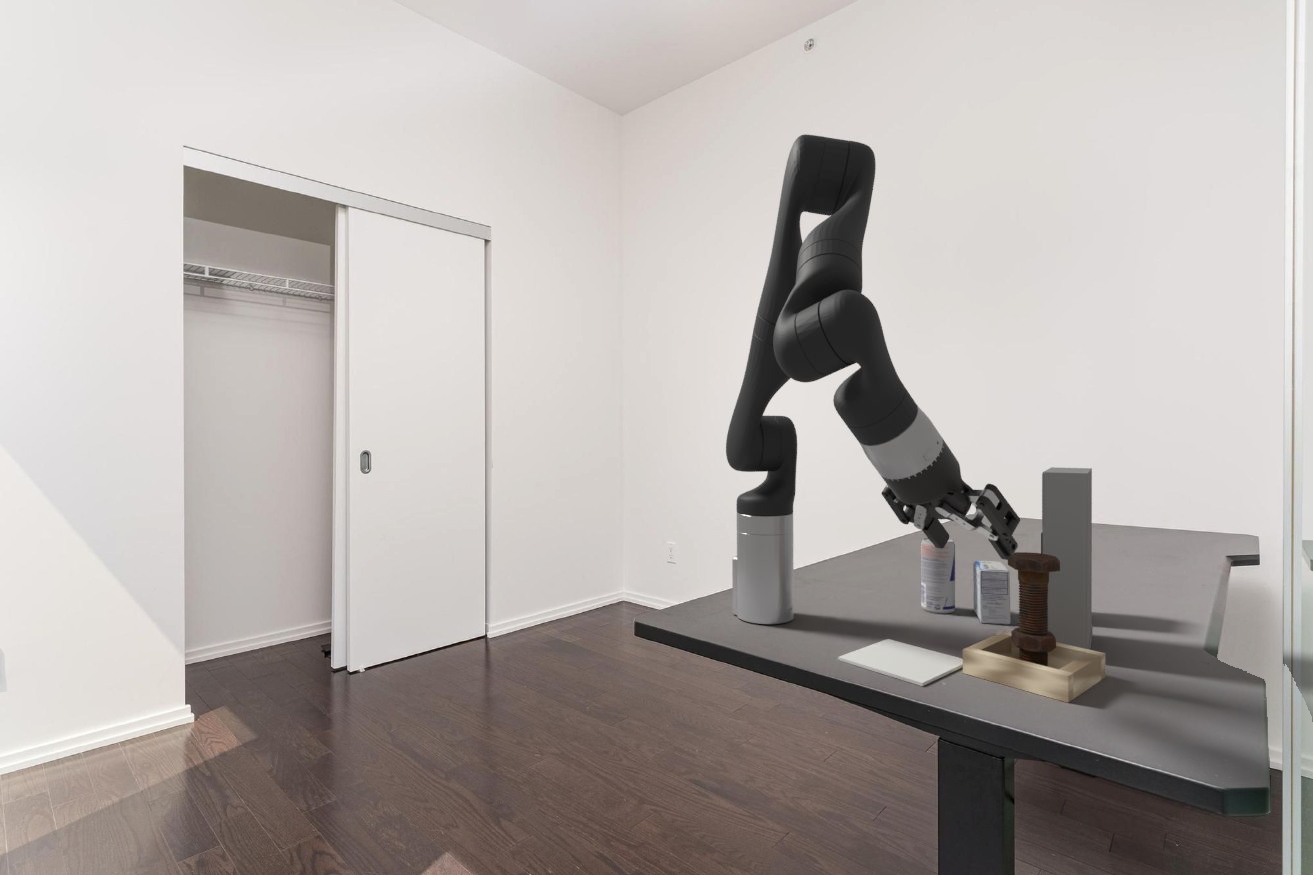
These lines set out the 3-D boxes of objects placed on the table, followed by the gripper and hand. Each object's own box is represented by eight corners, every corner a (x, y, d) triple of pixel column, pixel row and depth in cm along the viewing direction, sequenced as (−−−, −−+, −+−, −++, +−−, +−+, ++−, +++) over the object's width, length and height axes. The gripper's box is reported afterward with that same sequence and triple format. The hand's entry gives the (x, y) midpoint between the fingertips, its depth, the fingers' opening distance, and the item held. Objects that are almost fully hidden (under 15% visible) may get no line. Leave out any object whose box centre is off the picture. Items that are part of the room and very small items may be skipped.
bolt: (1064, 685, 80) (1064, 560, 80) (1019, 682, 81) (1019, 559, 81) (1046, 668, 86) (1046, 552, 85) (1004, 665, 87) (1004, 550, 86)
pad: (838, 659, 89) (838, 656, 89) (887, 641, 97) (887, 638, 97) (922, 686, 80) (922, 682, 80) (969, 663, 87) (969, 660, 87)
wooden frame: (962, 672, 84) (962, 649, 84) (1004, 652, 92) (1004, 630, 92) (1068, 702, 75) (1068, 676, 75) (1105, 677, 82) (1105, 653, 82)
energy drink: (957, 608, 114) (957, 538, 114) (952, 615, 110) (952, 543, 110) (924, 604, 117) (924, 536, 117) (918, 611, 113) (918, 540, 113)
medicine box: (1010, 625, 104) (1010, 570, 104) (979, 623, 106) (979, 569, 106) (1002, 612, 112) (1002, 561, 112) (972, 610, 113) (972, 559, 113)
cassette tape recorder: (1044, 629, 102) (1045, 467, 102) (1092, 636, 99) (1092, 468, 98) (1035, 654, 91) (1035, 472, 91) (1088, 663, 87) (1088, 473, 87)
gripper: (983, 426, 67) (1049, 531, 73) (873, 427, 79) (938, 517, 85) (948, 481, 64) (1020, 585, 70) (841, 473, 77) (909, 562, 82)
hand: (975, 548), depth 78 cm, fingers open, 8 cm apart
